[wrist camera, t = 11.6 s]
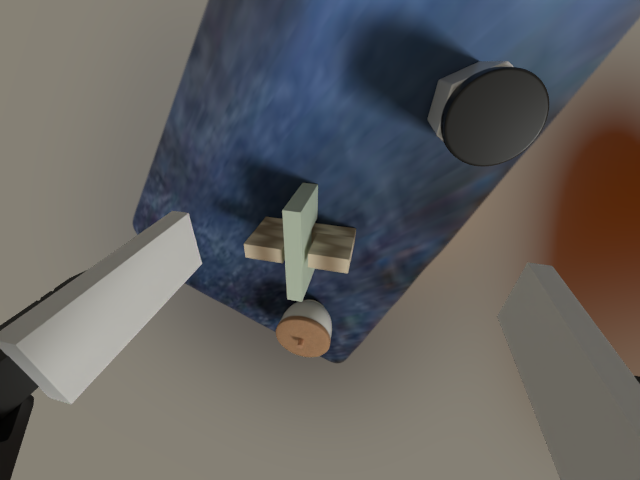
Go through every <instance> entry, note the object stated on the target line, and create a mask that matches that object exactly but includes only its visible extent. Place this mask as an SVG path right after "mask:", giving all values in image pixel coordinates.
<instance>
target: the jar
mask: <svg viewBox="0 0 640 480" xmlns="http://www.w3.org/2000/svg"><path fill="white" fill-rule="evenodd" d="M548 111H549V96H548V92H547V89H546V87H545V85H544V84H543V82H542V81H541V80H540V79H539V78H538V77H537V76H536V75H535V74H533V73H532V72H530V71H528V70H525V69H522V68H517V67H514V66H513V65H512V64H511V63H510V62H508V61H479V62H477V63H475V64H473V65H470V66H468V67H466V68H464V69H461V70H459V71H457V72H455V73H453V74H450V75H448V76H446V77H444V78H441V79H439V81H438V83H437V87H436V90H435V94H434V98H433V101H432V105H431V108H430V112H429V115H428V119H427V120H428V122H429V124H430V125H431V127H432V129H433V130H434V132H435V134H436V135H437V136H438V137H439V138H440V139H441V140H442V141H443V142H444V143H445V145H446V147H447V148H448V150H449V151H450V152H451V153H452V154H453V155H454V156H455V157H456V158H458V159H459V160H461V161H462V162H464V163H467V164H470V165H474V166H492V165H497V164H500V163H503V162H506V161H508V160H510V159H512V158H514V157H516V156H517V155H519V154H520V153H522V152H523V151H524V150H526V149H527V148H528V147H529V146H530V145H531V144H532V143H533V142H534V141H535V139H536V138H537V137H538V135H539V134H540V132H541V131H542V129H543V127H544V125H545V122H546V120H547V116H548Z"/></svg>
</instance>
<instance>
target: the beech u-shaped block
mask: <svg viewBox="0 0 640 480" xmlns="http://www.w3.org/2000/svg"><path fill="white" fill-rule="evenodd" d="M355 234H356V228H349V227H341V226H333V225H326V224H318V223H315V224H314V226H313V228H312V246H311V248H310V250H309V252H308V267H310V268H316V269H322V270H329V271H335V272H341V273H348V270H349V265H350V261H351V256H352V251H353V247H354V242H355ZM244 250H245V256H246V257H247V258H253V259H259V260H266V261H272V262H278V263H283V261H284V259H285V251H284V233H283V219H280V218H272V217H265V219H264V220H263V221H262V222H261V223H260V225H259V226H258V227H257V228H256V230H255V231H254V232H253V233H252V234H251V236H250V237H249V238H248V239H247V241H246V242H245V243H244Z"/></svg>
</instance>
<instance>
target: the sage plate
mask: <svg viewBox="0 0 640 480" xmlns="http://www.w3.org/2000/svg"><path fill="white" fill-rule="evenodd" d="M317 207H318V184H309V183H302V184H301V186H300V187H299V188H298V190H297V191H296V192H295V194H294V195H293V196H292V198H291V199H290V200H289V202H288V203H287V204H286V206H285V207H284V208H283V210H282V216H283V233H284V251H285V269H286V287H287V299H288V300H294V301H299V302H302V301H303V299H304V296H305V293H306V291H307V288H308V285H309V283H310V280H311V277H312V275H313V272H314V269H315V268H310V267H308V252H309V250H310V248H311V246H312V228H313V226H314V224H315V222H316V220H317Z"/></svg>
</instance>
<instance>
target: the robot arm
mask: <svg viewBox="0 0 640 480" xmlns="http://www.w3.org/2000/svg"><path fill="white" fill-rule="evenodd" d="M201 264H202V262H201V258H200V254H199V251H198V247H197V243H196V239H195V236H194V232H193V228H192V224H191V221H190V217H189V213H184V212H177V211H172V212H170V213H169V214H167V215H166V216H165V217H163V218H162V219H160V220H159V221H157V222H156V223H154V224H153V225H152V226H150V227H149V228H147V229H146V230H144V231H143V232H142V233H140V234H139V235H137V236H136V237H134V238H133V239H131V240H130V241H129V242H127V243H126V244H124V245H123V246H121V247H120V248H119V249H117V250H116V251H114V252H113V253H111V254H110V255H108V256H107V257H106V258H104V259H103V260H102V261H100V262H98V263H97V264H96V265H94V266H93V267H91V268H90V269H88V270H86V271H84V272H82V273H80V274H78V275H75V276H73V277H71V278H69V279H68V280H66V281H65V282H63V283H62V284H60V285H59V286H58V287H56V288H55V289H54V291H50V292H49V293H47V294H46V295H44V296H43V297H41V299H40V301H36V302H34V303H33V304H31V305H30V306H28V307H27V308H25V309H24V310H22V311H21V312H20V313H18V314H16V315H15V316H14V317H12V318H11V319H9V320H8V321H6V322H5V323H3V324H2V325H0V480H10V479H11V476H12V472H13V469H14V466H15V463H16V459H17V456H18V453H19V450H20V446H21V443H22V440H23V437H24V434H25V430H26V427H27V424H28V421H29V417H30V414H31V411H32V408H33V402H34V397H33V396H32V395H31V393H32V392H33V391H34V390H36V389H37V388H38V387H39V388H40V389H41V390H42V391H43V392H44V393H45V394H46V395H47V396H48V397H50V398H52V399H55V400H59V401H62V402H65V403H69V404H72V403H73V402H74V401H75V400H76V398H78V396H79V395H80V394H81V393H82V392H83V391H84V390H85V389H86V388H87V387H88V386H89V384H91V382H92V381H93V380H94V379H95V378H96V377H97V376H98V375H99V374H100V373H101V372H102V371H103V370H104V368H105V367H106V366H107V365H108V364H109V363H110V362H111V361H112V360H113V359H114V358H115V357H116V356H117V355H118V353H119V352H120V351H121V350H122V349H123V348H124V347H125V346H126V345H127V344H128V343H129V341H131V339H132V338H133V337H134V336H135V335H136V334H137V333H138V332H139V331H140V330H141V329H142V328H143V327H144V326H145V324H146V323H147V322H148V321H149V320H150V319H151V318H152V317H153V316H154V315H155V314H156V313H157V312H158V311H159V309H160V308H161V307H162V306H163V305H164V304H165V303H166V302H167V301H168V299H170V298H171V297H172V296H173V294H174V293H175V292H176V291H177V290H178V289H179V288H180V287H181V286H182V285H183V284H184V283H185V282H186V280H187V279H188V278H189V277H190V276H191V275H192V274H193V273H194V272H195V271H196V270H197V269H198V268H199V267H200V265H201ZM497 317H498V319H499V322H500V325H501V327H502V330H503V333H504V335H505V338H506V340H507V343H508V346H509V348H510V351H511V353H512V356H513V358H514V361H515V364H516V366H517V369H518V371H519V374H520V376H521V379H522V382H523V384H524V387H525V389H526V392H527V394H528V397H529V400H530V402H531V405H532V408H533V410H534V413H535V415H536V418H537V420H538V423H539V426H540V428H541V431H542V433H543V436H544V438H545V441H546V444H547V446H548V449H549V451H550V454H551V457H552V459H553V462H554V464H555V467H556V469H557V472H558V474H559V477H560V480H640V377H638V376H634V375H633V374H632V373H631V372H630V370H629V369H628V367H627V366H626V365H625V363H624V362H623V361H622V359H621V358H620V357H619V355H618V354H617V353H616V351H615V350H614V349H613V347H612V346H611V345H610V343H609V342H608V340H607V339H606V338H605V336H604V335H603V334H602V333H601V331H600V330H599V328H598V327H597V326H596V324H595V323H594V322H593V320H592V319H591V318H590V316H589V315H588V313H587V312H586V311H585V309H584V308H583V307H582V305H581V304H580V303H579V301H578V300H577V299H576V297H575V296H574V295H573V293H572V292H571V291H570V289H569V288H568V287H567V285H566V284H565V282H564V281H563V280H562V278H561V277H560V276H559V275H558V273H557V272H556V270H555V269H554V268H553V266H548V265H541V264H534V263H527V265H526V266H525V268H524V270H523V272H522V274H521V275H520V277H519V279H518V281H517V282H516V284H515V286H514V288H513V289H512V291H511V293H510V295H509V296H508V298H507V300H506V302H505V304H504V305H503V307H502V309H501V311H500V312H499V314H498V316H497Z"/></svg>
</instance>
